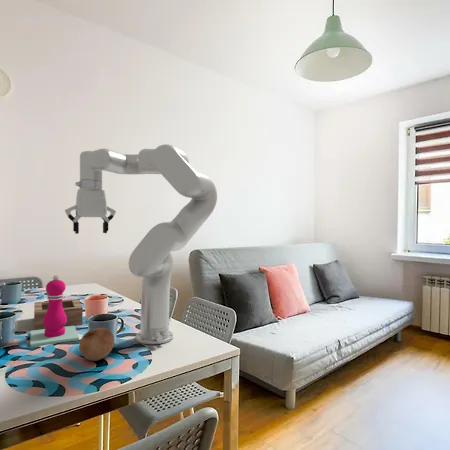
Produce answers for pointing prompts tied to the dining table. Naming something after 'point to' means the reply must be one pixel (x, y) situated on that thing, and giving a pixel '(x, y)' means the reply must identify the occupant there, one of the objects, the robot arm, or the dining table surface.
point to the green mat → (41, 339)
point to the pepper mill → (55, 309)
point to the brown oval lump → (96, 344)
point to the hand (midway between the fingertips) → (91, 233)
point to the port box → (70, 309)
